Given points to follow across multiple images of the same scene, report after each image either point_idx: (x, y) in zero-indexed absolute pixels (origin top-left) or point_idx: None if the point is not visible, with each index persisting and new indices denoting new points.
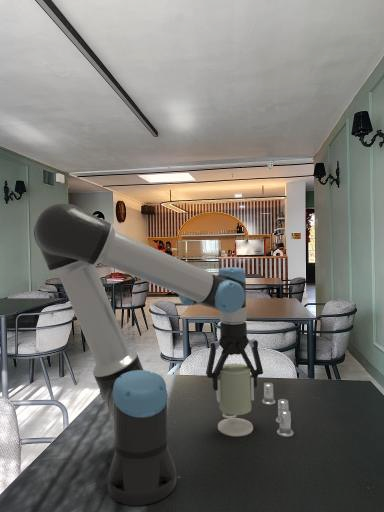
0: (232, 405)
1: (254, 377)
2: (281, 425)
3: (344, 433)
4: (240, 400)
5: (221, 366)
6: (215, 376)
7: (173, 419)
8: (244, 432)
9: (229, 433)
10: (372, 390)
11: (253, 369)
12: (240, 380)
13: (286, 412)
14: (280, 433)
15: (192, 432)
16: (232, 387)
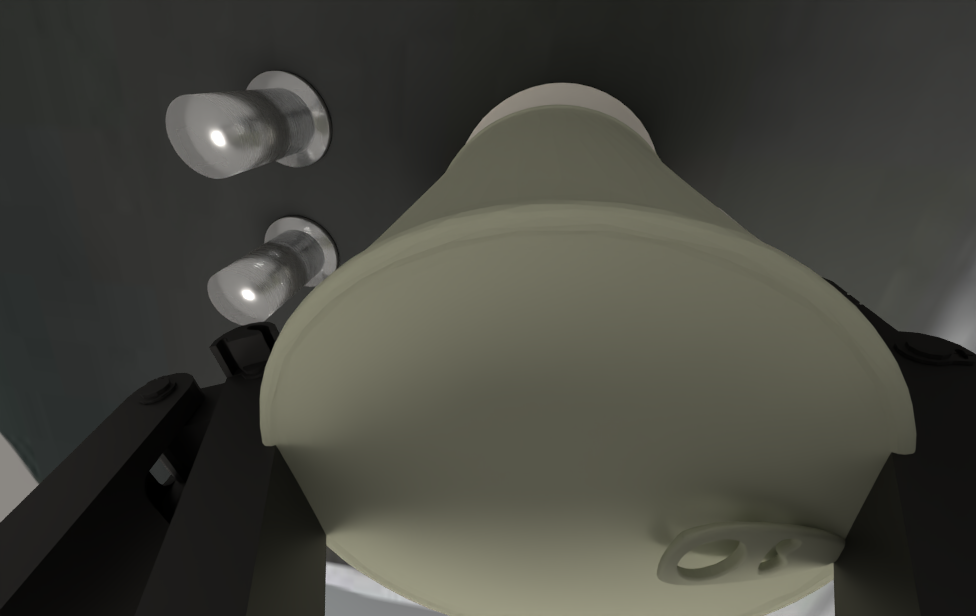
0: (602, 123)
1: (275, 327)
2: (278, 105)
3: (15, 105)
4: (518, 131)
5: (965, 554)
6: (946, 368)
7: (890, 316)
8: (512, 109)
9: (608, 97)
10: (16, 443)
11: (221, 429)
12: (483, 179)
13: (191, 121)
14: (310, 98)
15: (835, 151)
16: (625, 157)
